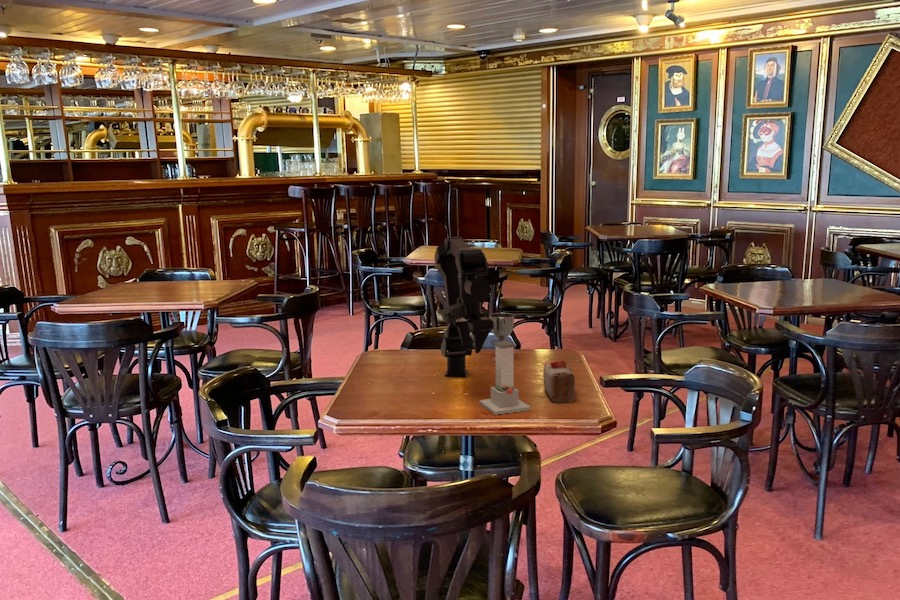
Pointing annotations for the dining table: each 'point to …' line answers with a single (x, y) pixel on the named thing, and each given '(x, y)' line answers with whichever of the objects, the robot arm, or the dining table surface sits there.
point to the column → (504, 365)
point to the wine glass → (502, 325)
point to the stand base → (504, 402)
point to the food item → (559, 381)
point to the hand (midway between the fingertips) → (471, 349)
